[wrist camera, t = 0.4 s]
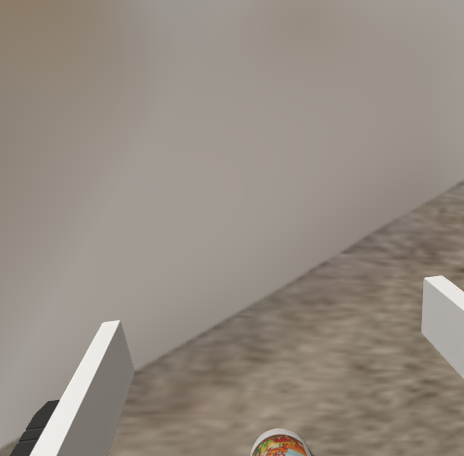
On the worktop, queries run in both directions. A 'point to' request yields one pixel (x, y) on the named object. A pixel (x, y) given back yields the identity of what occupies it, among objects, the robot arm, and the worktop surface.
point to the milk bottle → (280, 444)
